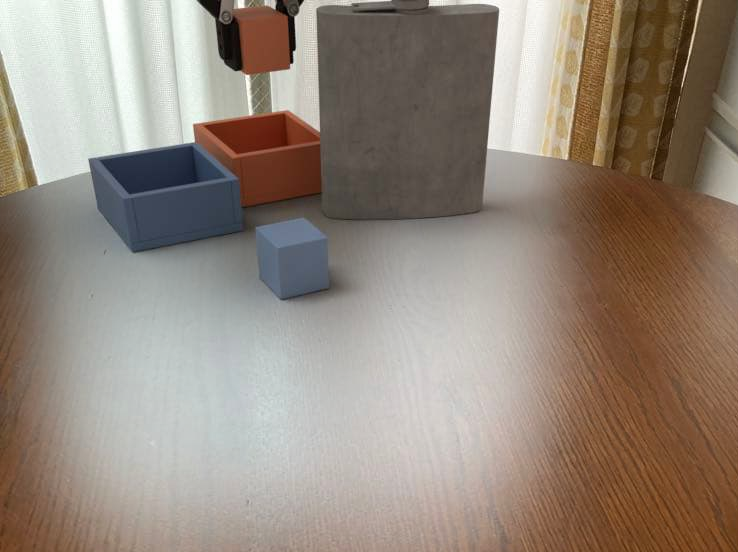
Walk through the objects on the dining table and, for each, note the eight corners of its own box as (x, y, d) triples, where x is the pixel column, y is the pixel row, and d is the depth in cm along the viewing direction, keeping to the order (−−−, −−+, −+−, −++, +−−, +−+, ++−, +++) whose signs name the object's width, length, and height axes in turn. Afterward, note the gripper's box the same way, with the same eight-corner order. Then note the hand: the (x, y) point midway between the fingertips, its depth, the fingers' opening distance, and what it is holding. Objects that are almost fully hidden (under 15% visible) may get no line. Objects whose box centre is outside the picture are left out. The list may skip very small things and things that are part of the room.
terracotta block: (246, 75, 85) (241, 21, 82) (228, 62, 88) (222, 9, 85) (290, 69, 87) (287, 16, 84) (271, 57, 90) (267, 5, 87)
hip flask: (477, 199, 93) (497, -30, 80) (487, 215, 90) (509, -20, 77) (320, 206, 90) (313, -29, 77) (325, 223, 88) (318, -19, 74)
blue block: (280, 299, 76) (277, 248, 73) (259, 277, 79) (254, 226, 76) (329, 288, 78) (328, 237, 75) (306, 267, 81) (304, 216, 78)
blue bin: (132, 252, 82) (123, 199, 78) (97, 209, 88) (87, 158, 85) (243, 230, 86) (239, 178, 83) (202, 190, 93) (196, 141, 89)
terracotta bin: (237, 208, 90) (232, 158, 86) (198, 171, 96) (192, 123, 93) (334, 190, 94) (333, 141, 90) (290, 156, 100) (288, 109, 97)
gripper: (313, -185, 81) (321, 44, 93) (124, -181, 74) (159, 64, 87) (353, -177, 76) (355, 63, 88) (155, -172, 70) (187, 86, 82)
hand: (258, 61), depth 87 cm, fingers closed on terracotta block, 4 cm apart
